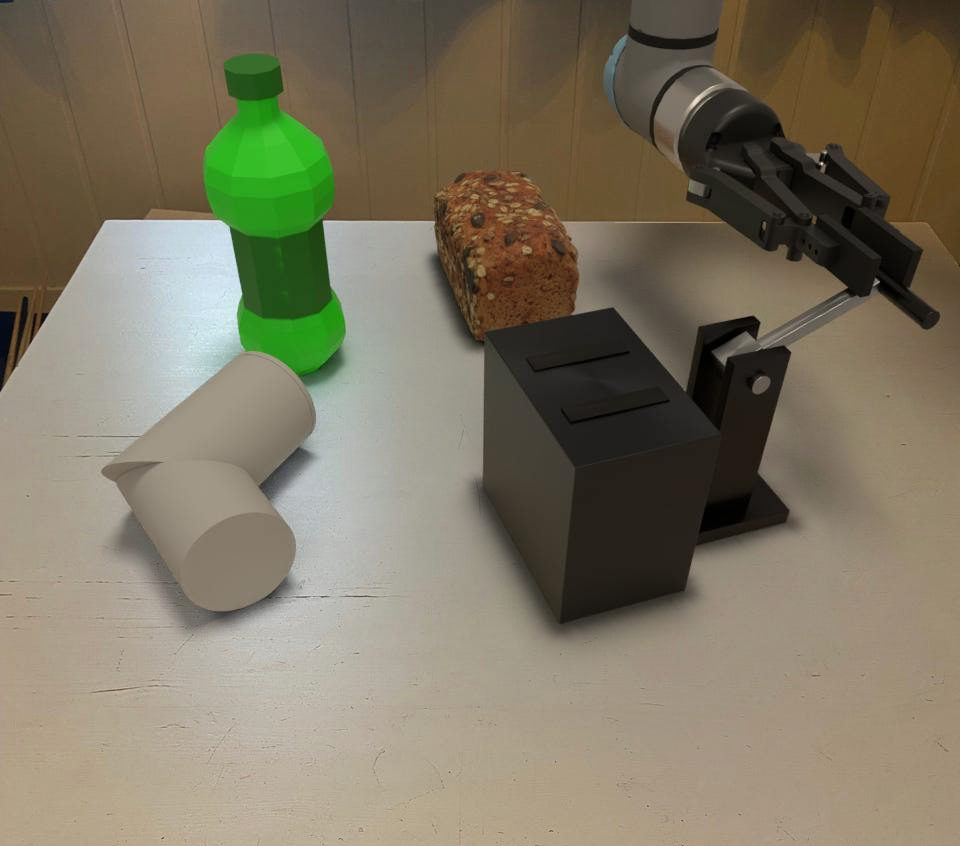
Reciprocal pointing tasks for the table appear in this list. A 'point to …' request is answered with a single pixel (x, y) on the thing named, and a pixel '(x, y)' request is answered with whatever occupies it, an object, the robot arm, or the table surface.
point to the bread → (504, 251)
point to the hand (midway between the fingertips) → (891, 273)
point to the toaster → (594, 461)
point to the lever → (830, 318)
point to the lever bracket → (738, 428)
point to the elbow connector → (220, 481)
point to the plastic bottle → (275, 219)
